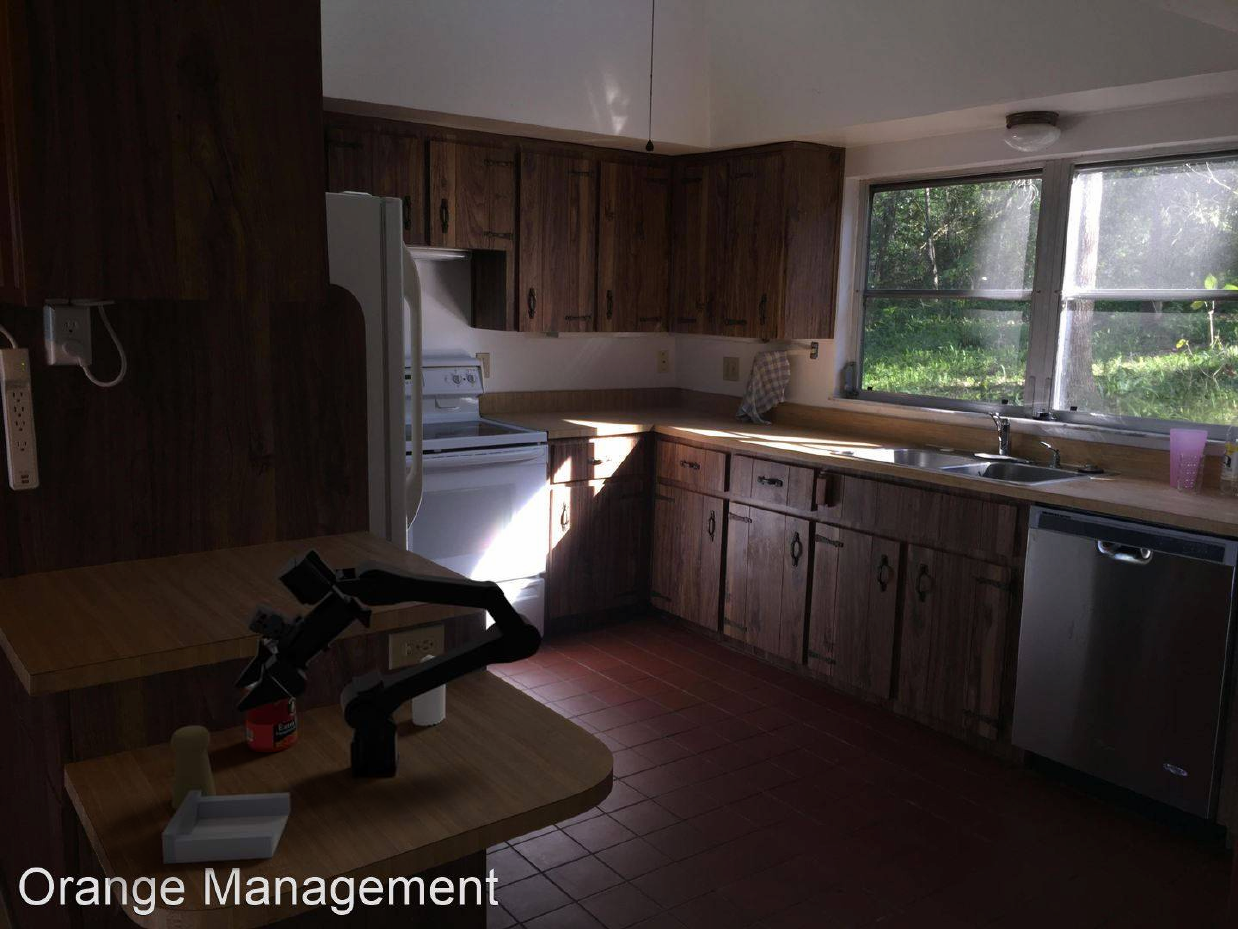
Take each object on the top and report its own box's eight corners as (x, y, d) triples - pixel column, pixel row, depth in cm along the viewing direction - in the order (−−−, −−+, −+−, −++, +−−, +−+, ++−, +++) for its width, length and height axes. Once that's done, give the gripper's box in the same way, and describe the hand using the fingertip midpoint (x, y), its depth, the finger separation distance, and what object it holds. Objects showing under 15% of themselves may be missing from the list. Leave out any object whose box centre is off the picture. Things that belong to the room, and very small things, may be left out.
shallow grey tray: (290, 812, 143) (289, 786, 143) (272, 857, 131) (270, 829, 131) (191, 817, 142) (189, 790, 141) (163, 863, 130) (161, 834, 129)
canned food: (282, 755, 161) (279, 690, 160) (237, 750, 163) (233, 685, 161) (306, 735, 169) (303, 673, 167) (263, 731, 170) (260, 669, 169)
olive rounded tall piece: (180, 791, 149) (175, 721, 147) (222, 790, 150) (218, 720, 148) (165, 811, 143) (160, 738, 141) (209, 810, 144) (204, 737, 142)
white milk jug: (430, 645, 178) (452, 652, 174) (432, 710, 180) (453, 718, 176) (403, 654, 173) (425, 662, 170) (405, 721, 175) (426, 729, 172)
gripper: (280, 572, 157) (198, 641, 154) (289, 605, 140) (197, 683, 137) (328, 622, 161) (249, 689, 158) (342, 660, 144) (254, 737, 141)
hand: (237, 698), depth 148 cm, fingers open, 9 cm apart
